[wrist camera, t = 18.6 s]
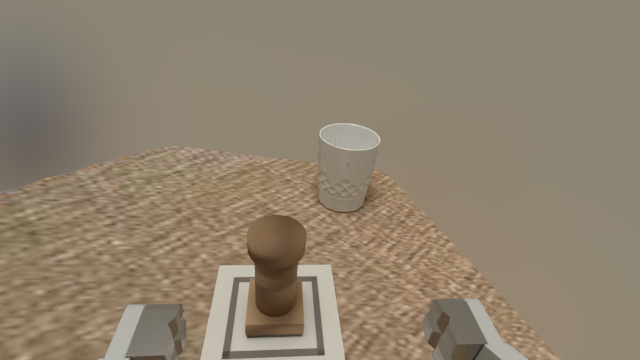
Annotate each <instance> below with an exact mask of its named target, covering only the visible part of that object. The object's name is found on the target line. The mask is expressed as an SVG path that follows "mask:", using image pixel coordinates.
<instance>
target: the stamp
mask: <svg viewBox="0 0 640 360" xmlns="http://www.w3.org/2000/svg"><path fill="white" fill-rule="evenodd" d="M305 244H306V231H305V228H304V227H303V225H302V224H301V223H300V222H298V221H297V220H295V219H293V218H291V217H287V216H282V215H272V216H267V217H263V218H261V219H259V220H257V221H255V222H254V223H253V224H252V225H251V226H250V228H249V229H248V232H247V245H248V254H249V256H250V258H251V259H252V261H254V264H255V278H250V283H249V293H248V302H247V311H246V320H245V334H246V336H247V338H259V337H294V336H302V334H303V331H304V310H303V291H302V278H297V269H298V261H300V260H301V258H302V257H303V255H304V252H305Z"/></svg>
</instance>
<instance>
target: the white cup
mask: <svg viewBox="0 0 640 360" xmlns="http://www.w3.org/2000/svg"><path fill="white" fill-rule="evenodd" d="M380 141H381V140H380V137H379V135H377V133H376V132H374V131H373V130H371V129H369V128H366V127H363V126H360V125H356V124H348V123H337V124H331V125H327V126H325V127H323V128H322V129H321V130H320V132H319V154H318V198H319V202H320V203H321V204H323V205H324V206H325V207H326V208H328V209H331V210H333V211H336V212H351V211H356V210H358V209H359V208H360V207H362V206H363V203H364V200H365V196H366V192H367V189H368V188H369V183H370V180H371V177H372V173H373V169H374V165H375V161H376V157H377V153H378V149H379V145H380Z"/></svg>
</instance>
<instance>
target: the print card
mask: <svg viewBox="0 0 640 360" xmlns="http://www.w3.org/2000/svg"><path fill="white" fill-rule="evenodd" d="M250 278H255V265H230V266H220V267H219V272H218V277H217V281H216V286H215V291H214V296H213V301H212V306H211V311H210V316H209V320H208V325H207V330H206V335H205V340H204V345H203V350H202V355H201V359H200V360H345V356H344V349H343V342H342V336H341V329H340V323H339V316H338V309H337V303H336V296H335V290H334V283H333V276H332V270H331V265H298V269H297V278H302V291H303V310H304V331H303V334H302V336H294V337H259V338H247V336H246V334H245V320H246V311H247V302H248V293H249V283H250Z"/></svg>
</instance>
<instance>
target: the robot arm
mask: <svg viewBox="0 0 640 360" xmlns="http://www.w3.org/2000/svg"><path fill="white" fill-rule="evenodd" d="M430 308H431V311H430V312H428V313H427V314H426V315H425V318H424V322H423V329H424V334H425V337H426V340H427V342H428V343H429V344H430V345H431V346H432V347H433V348H434V351H433V354H432V356H433V359H434V360H528V359H527V358H525V357H524V356H523V355H522V354H520V353H519V352H518V351H517V350H515V349H514V348H513V347H512V346H510V345H509V344H504V343H503V341H502V339H501V337H500V336H499V334H498V332H497V330H496V329H495V327H494V325H493V323H492V322H491V320H490V318H489V316H488V314H487V313H486V311H485V309H484V307H483V306H482V304H481V302H480V301H479V300H478V299H474V298H473V299H461V298H459V299H434V300H433V301H432V302H431V304H430ZM183 312H184V310H183V306H182V304H158V305H148V304H139V305H128V306H127V308H126V309H125V310H124V313H123V315H122V317H121V320H120V322H119V324H118V327H117V329H116V331H115V334H114V336H113V338H112V341H111V343H110V345H109V348H108V350H107V352H106V355H105V357H104V359H98V360H178V356H179V355H180V354H181V353H182V352H183V349H184V345H185V339H186V320H185V319H184V318H182V315H183Z"/></svg>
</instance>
